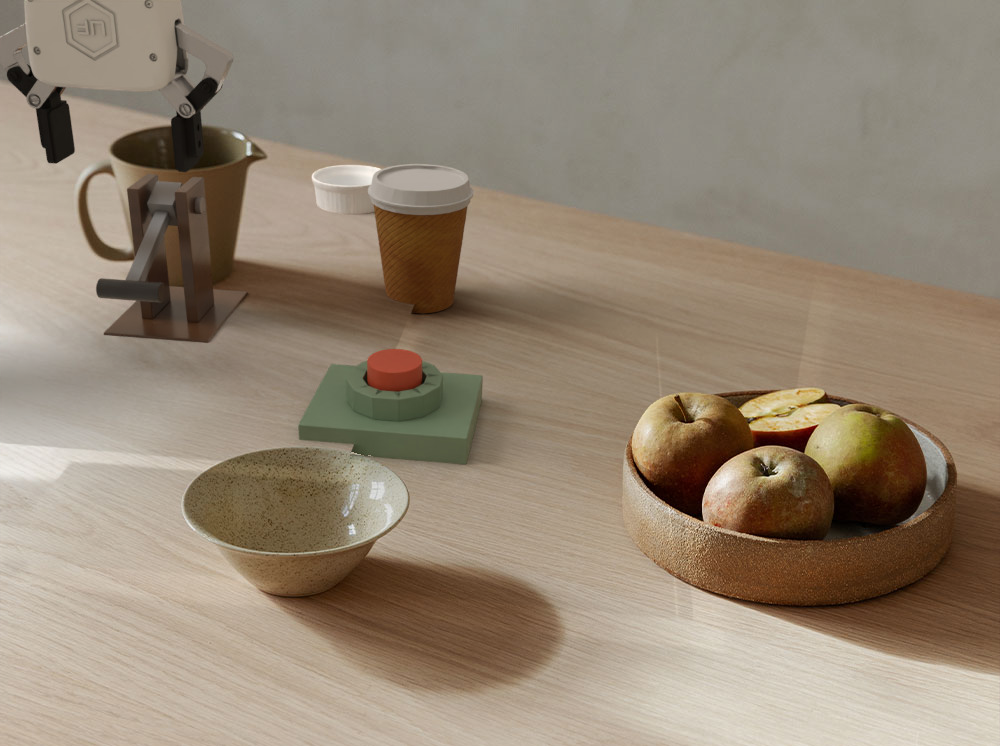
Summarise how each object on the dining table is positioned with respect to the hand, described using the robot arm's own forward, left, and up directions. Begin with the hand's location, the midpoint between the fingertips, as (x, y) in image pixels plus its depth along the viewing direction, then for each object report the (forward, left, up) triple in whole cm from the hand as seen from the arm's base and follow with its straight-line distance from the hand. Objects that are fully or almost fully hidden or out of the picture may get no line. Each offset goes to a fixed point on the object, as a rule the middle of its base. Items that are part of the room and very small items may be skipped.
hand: (124, 162), depth 82 cm
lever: (-1, +5, -9) cm, 11 cm away
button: (+21, -6, -13) cm, 26 cm away
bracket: (-1, +9, -17) cm, 19 cm away
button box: (+21, -6, -17) cm, 28 cm away
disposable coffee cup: (+19, +18, -17) cm, 32 cm away
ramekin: (+7, +43, -17) cm, 47 cm away
